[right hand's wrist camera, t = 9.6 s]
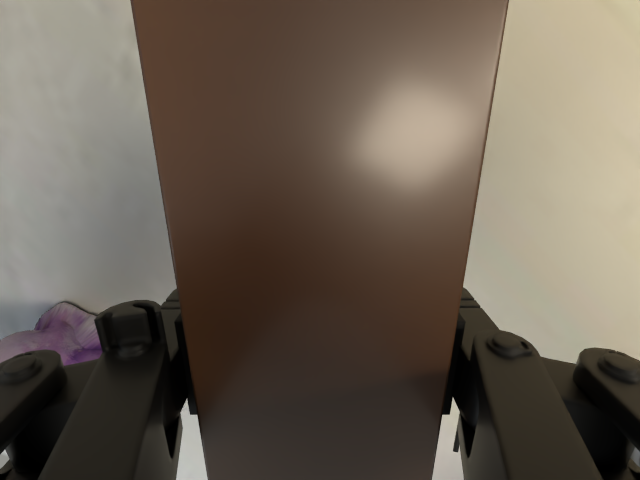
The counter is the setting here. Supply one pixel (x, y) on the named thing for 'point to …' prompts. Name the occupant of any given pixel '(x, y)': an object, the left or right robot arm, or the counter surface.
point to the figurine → (58, 336)
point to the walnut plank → (319, 219)
